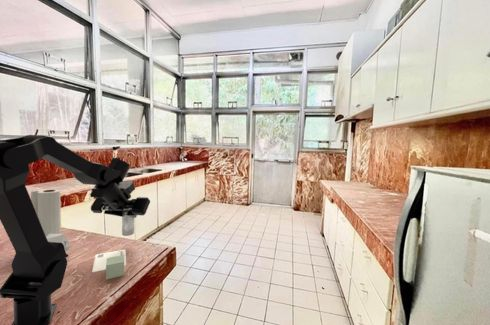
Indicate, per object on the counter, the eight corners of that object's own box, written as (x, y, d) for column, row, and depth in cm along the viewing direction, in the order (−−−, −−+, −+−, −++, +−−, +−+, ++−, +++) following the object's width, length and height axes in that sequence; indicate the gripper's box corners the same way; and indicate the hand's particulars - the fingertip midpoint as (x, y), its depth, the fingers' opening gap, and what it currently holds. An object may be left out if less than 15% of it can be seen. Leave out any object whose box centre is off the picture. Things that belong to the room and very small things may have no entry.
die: (39, 270, 65) (63, 242, 67) (20, 253, 66) (45, 226, 69) (60, 265, 73) (81, 240, 75) (43, 250, 74) (64, 226, 77)
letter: (126, 265, 68) (126, 265, 68) (92, 273, 63) (91, 272, 63) (125, 249, 78) (125, 249, 78) (95, 255, 74) (95, 254, 74)
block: (124, 276, 63) (124, 261, 62) (105, 280, 60) (105, 265, 60) (123, 268, 67) (123, 254, 66) (106, 272, 64) (106, 258, 64)
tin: (134, 234, 79) (135, 201, 79) (121, 236, 77) (122, 202, 76) (134, 230, 83) (134, 199, 82) (121, 232, 81) (121, 200, 80)
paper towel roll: (65, 246, 79) (64, 189, 78) (45, 253, 73) (45, 192, 72) (51, 243, 81) (50, 188, 80) (31, 250, 75) (30, 190, 74)
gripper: (148, 175, 75) (161, 199, 86) (96, 173, 75) (116, 197, 87) (135, 203, 67) (151, 225, 79) (78, 200, 68) (102, 222, 79)
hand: (130, 216), depth 81 cm, fingers closed on tin, 4 cm apart
